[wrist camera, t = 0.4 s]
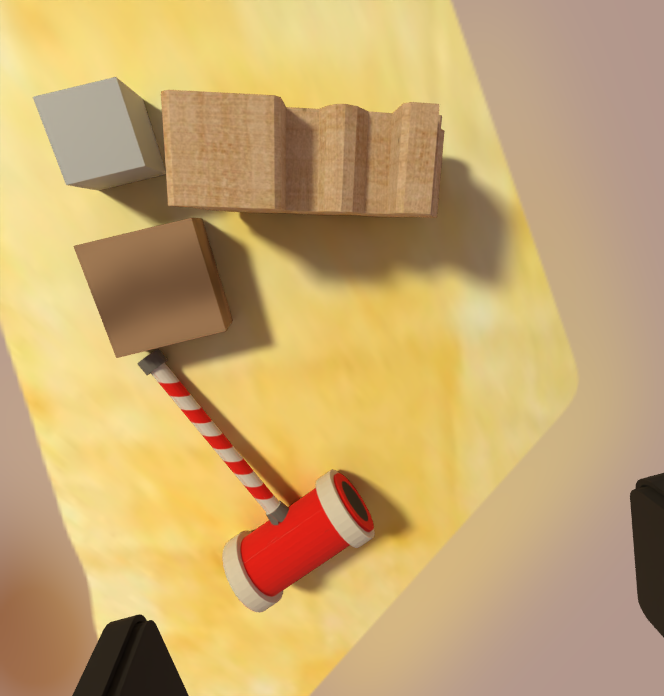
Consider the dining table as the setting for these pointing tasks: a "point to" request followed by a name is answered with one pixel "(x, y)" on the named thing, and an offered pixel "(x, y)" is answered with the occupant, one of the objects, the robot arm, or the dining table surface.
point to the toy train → (300, 156)
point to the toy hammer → (275, 514)
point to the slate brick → (100, 135)
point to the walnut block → (156, 286)
